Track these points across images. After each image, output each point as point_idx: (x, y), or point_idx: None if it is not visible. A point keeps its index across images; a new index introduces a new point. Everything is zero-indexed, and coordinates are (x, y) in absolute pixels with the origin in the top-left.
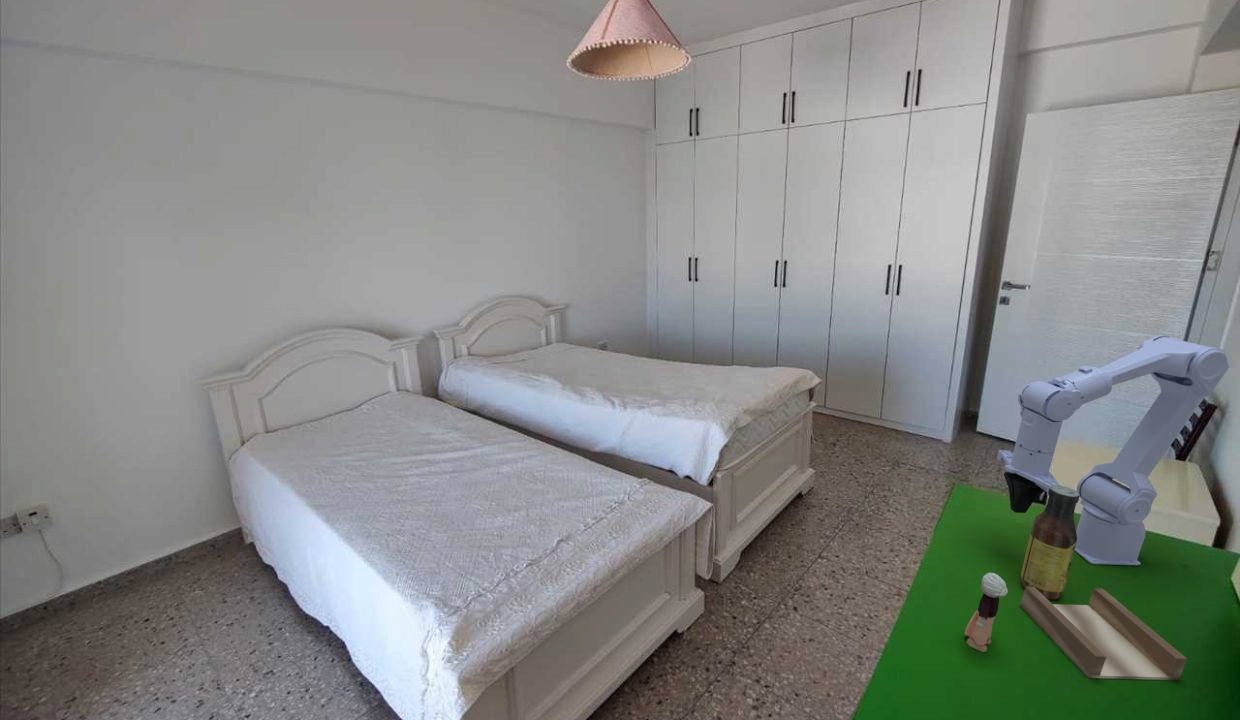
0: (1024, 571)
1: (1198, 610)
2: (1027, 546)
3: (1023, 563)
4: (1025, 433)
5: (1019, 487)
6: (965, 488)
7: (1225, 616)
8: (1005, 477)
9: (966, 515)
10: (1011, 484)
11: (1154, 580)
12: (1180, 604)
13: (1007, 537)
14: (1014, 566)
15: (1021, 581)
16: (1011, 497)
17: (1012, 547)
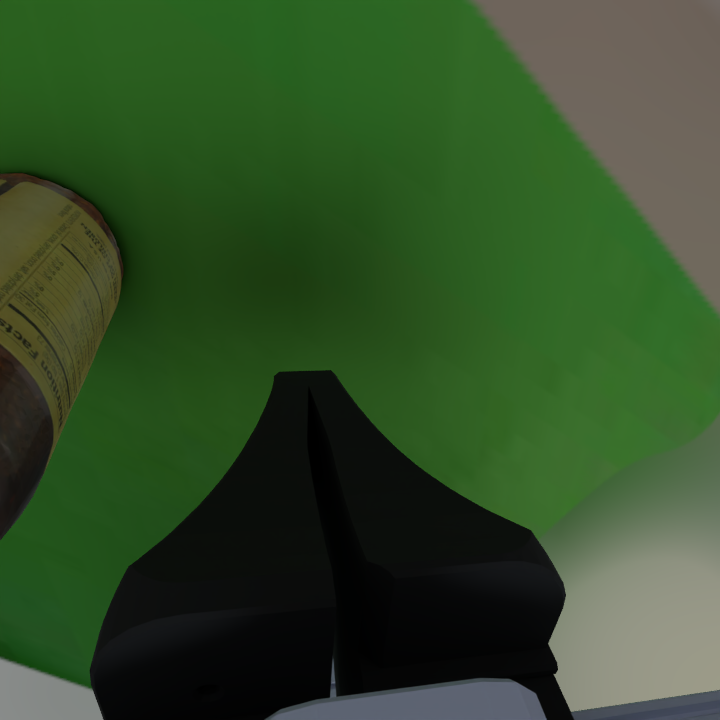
0: (5, 193)
1: (63, 638)
2: (4, 263)
3: (48, 219)
4: None
5: (161, 559)
6: None
7: (52, 671)
8: (492, 526)
9: (607, 272)
10: (362, 511)
11: None
12: (81, 618)
13: (429, 348)
14: (215, 246)
15: (46, 182)
16: (340, 421)
17: (359, 326)
